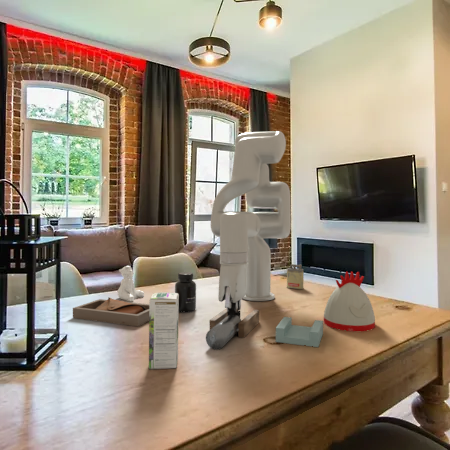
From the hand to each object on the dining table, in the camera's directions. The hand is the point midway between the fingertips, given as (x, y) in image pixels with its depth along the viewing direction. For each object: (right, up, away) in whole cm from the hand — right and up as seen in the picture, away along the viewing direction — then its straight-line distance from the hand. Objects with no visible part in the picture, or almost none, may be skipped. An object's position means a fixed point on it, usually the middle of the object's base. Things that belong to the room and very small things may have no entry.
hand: (233, 325), depth 100 cm
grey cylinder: (-3, -1, -8) cm, 9 cm away
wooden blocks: (0, -1, +1) cm, 2 cm away
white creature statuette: (-38, 0, +35) cm, 52 cm away
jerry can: (+27, +1, +53) cm, 60 cm away
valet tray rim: (-35, -1, +12) cm, 37 cm away
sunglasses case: (-35, -1, +12) cm, 37 cm away
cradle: (+17, -1, -7) cm, 18 cm away
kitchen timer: (+33, -1, +5) cm, 33 cm away
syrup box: (-15, -2, -23) cm, 27 cm away
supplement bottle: (-15, -1, +19) cm, 24 cm away
